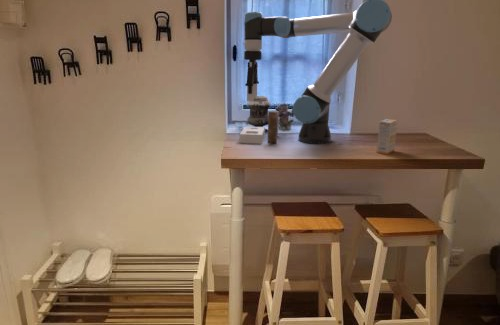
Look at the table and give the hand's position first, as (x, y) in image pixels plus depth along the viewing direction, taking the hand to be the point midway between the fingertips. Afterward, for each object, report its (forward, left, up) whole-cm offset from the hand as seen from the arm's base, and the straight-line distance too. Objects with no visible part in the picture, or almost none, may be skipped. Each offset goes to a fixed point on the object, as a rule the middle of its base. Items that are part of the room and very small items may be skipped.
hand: (252, 99), depth 166 cm
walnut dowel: (-10, +3, -19) cm, 21 cm away
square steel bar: (-10, -11, -19) cm, 24 cm away
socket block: (0, -4, -19) cm, 19 cm away
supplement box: (-57, +13, -19) cm, 62 cm away
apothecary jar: (-1, -24, -19) cm, 31 cm away
